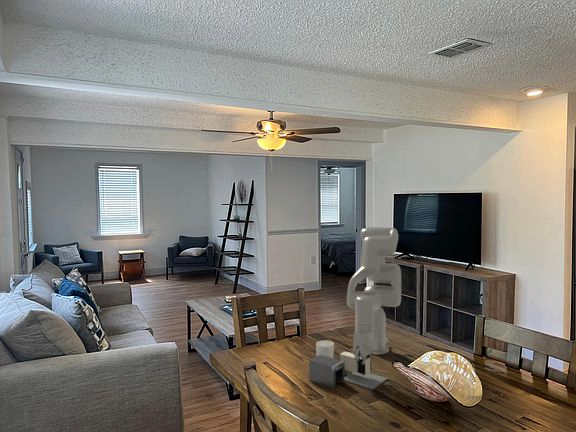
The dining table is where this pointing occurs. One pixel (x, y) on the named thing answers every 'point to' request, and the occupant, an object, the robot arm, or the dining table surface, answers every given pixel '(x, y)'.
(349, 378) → the mat
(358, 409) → the dining table surface
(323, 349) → the white cup
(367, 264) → the robot arm
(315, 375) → the dispenser
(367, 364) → the beige block
